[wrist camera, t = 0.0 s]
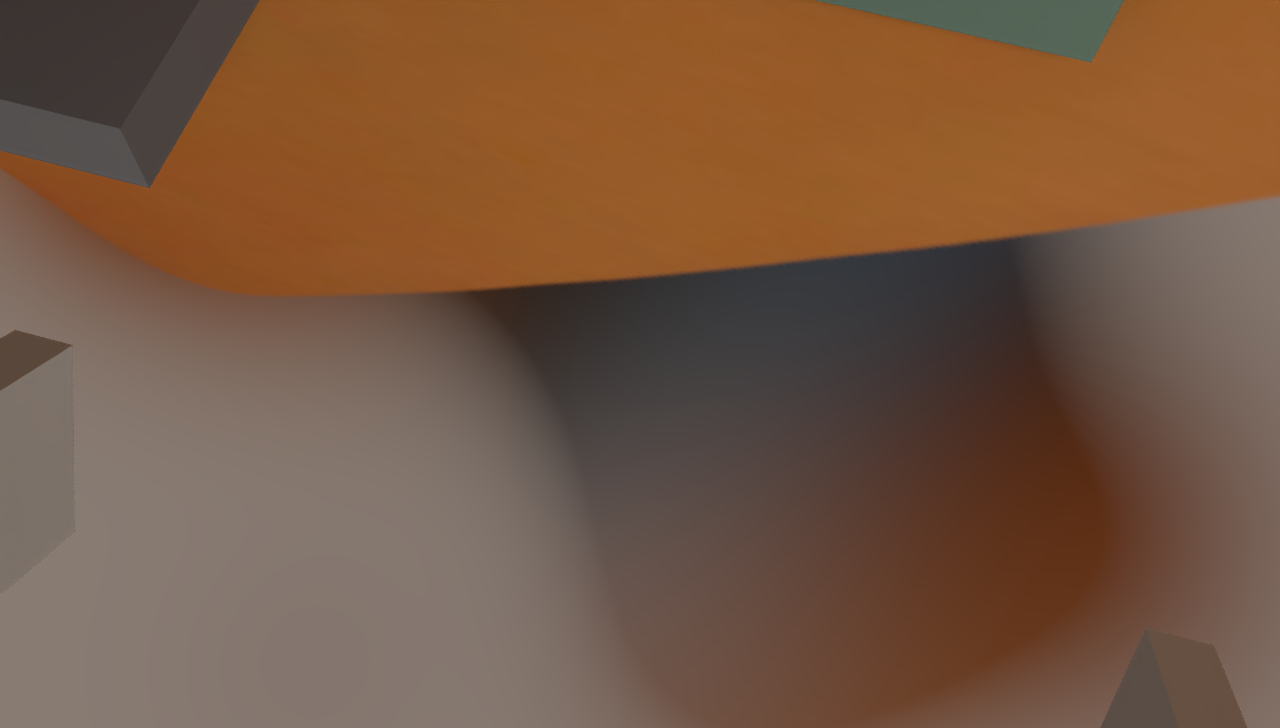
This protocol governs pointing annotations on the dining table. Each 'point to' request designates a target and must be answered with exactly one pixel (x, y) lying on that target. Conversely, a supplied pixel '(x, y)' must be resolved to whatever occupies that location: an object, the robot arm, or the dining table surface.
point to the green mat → (1009, 20)
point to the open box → (108, 78)
